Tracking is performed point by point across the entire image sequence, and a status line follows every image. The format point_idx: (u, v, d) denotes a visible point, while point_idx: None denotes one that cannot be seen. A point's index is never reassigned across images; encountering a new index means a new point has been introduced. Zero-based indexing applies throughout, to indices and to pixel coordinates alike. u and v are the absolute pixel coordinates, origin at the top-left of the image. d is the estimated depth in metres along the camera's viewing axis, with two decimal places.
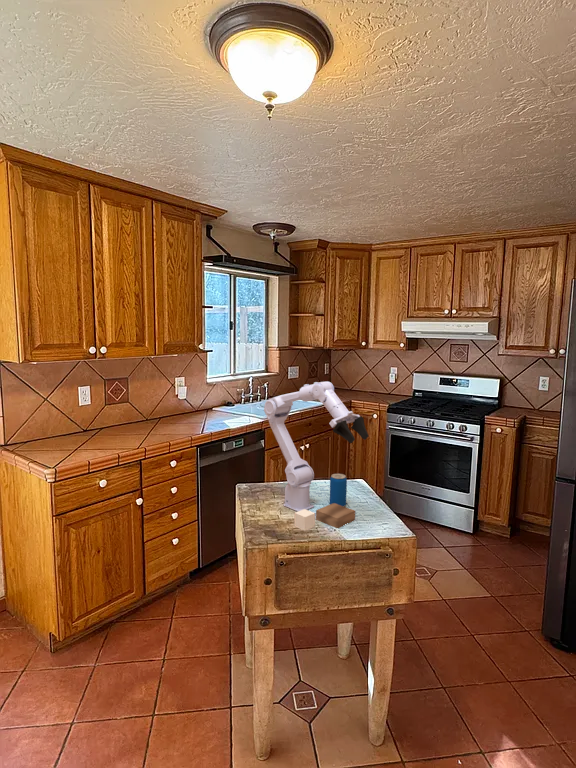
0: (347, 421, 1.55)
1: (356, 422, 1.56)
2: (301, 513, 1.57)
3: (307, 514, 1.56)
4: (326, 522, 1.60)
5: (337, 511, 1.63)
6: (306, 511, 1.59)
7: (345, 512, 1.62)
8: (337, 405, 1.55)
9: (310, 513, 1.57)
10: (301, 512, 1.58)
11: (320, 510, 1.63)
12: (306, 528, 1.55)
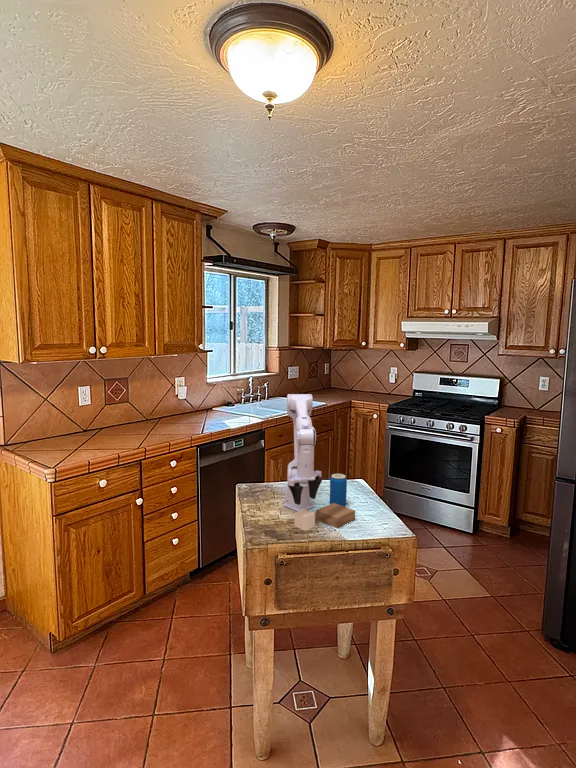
0: None
1: (313, 481, 1.58)
2: (301, 513, 1.57)
3: (307, 514, 1.56)
4: (326, 522, 1.60)
5: (337, 511, 1.63)
6: (306, 511, 1.59)
7: (345, 512, 1.62)
8: (306, 465, 1.53)
9: (310, 513, 1.57)
10: (301, 512, 1.58)
11: (320, 510, 1.63)
12: (306, 528, 1.55)
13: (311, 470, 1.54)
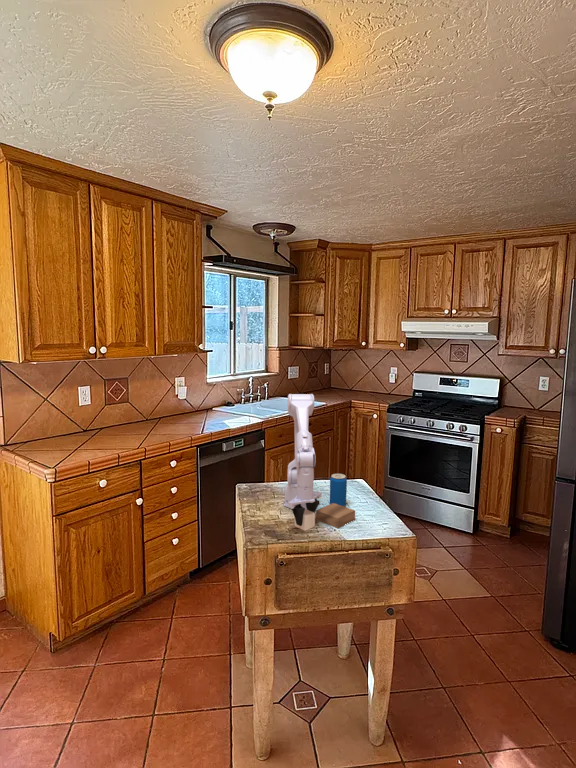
0: None
1: (311, 503, 1.59)
2: None
3: (307, 514, 1.56)
4: (326, 522, 1.60)
5: (337, 511, 1.63)
6: (306, 511, 1.59)
7: (345, 511, 1.62)
8: (306, 488, 1.54)
9: (310, 513, 1.57)
10: None
11: (320, 510, 1.63)
12: (306, 528, 1.55)
13: (311, 492, 1.55)
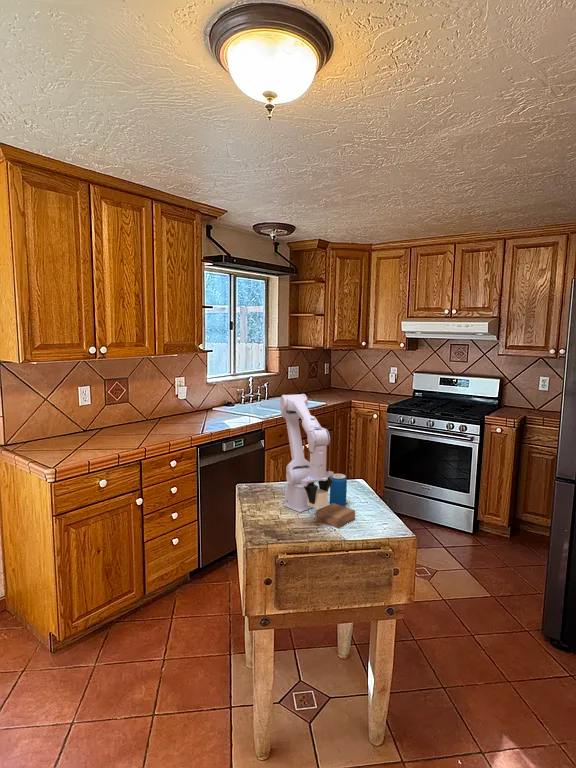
0: None
1: (324, 482, 1.60)
2: None
3: (320, 492, 1.58)
4: (327, 522, 1.60)
5: (337, 511, 1.63)
6: (319, 490, 1.60)
7: (345, 511, 1.62)
8: (319, 466, 1.55)
9: (323, 492, 1.58)
10: None
11: (320, 510, 1.63)
12: (319, 506, 1.56)
13: (324, 471, 1.56)
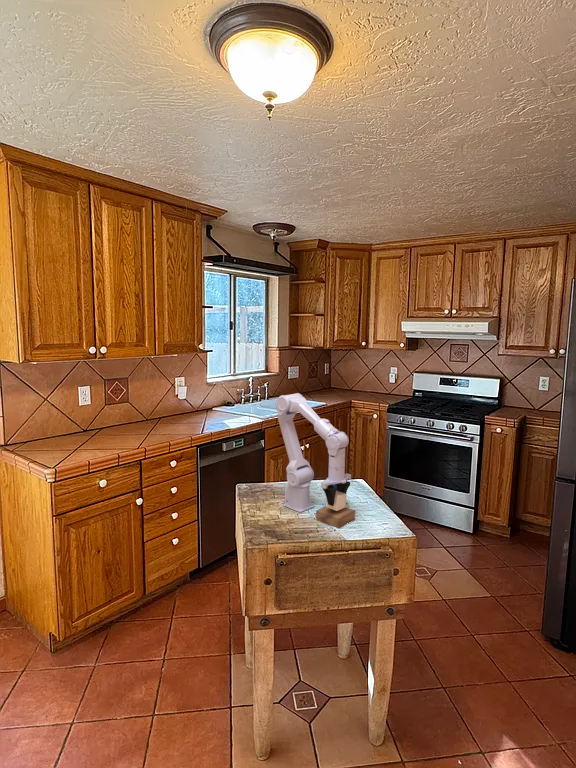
0: None
1: (342, 484, 1.64)
2: None
3: (339, 495, 1.61)
4: (327, 522, 1.60)
5: (337, 511, 1.63)
6: (337, 492, 1.64)
7: (345, 511, 1.62)
8: (338, 469, 1.58)
9: (341, 494, 1.62)
10: None
11: (320, 510, 1.63)
12: (338, 508, 1.60)
13: (342, 473, 1.59)
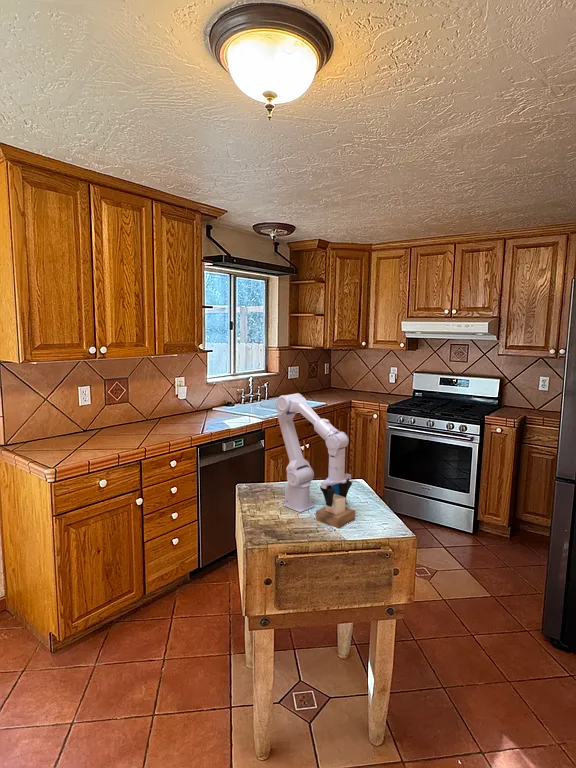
0: None
1: (344, 483, 1.64)
2: None
3: (338, 498, 1.61)
4: (327, 522, 1.60)
5: None
6: (337, 495, 1.64)
7: (345, 511, 1.62)
8: (338, 469, 1.58)
9: (341, 497, 1.62)
10: None
11: (320, 511, 1.63)
12: (337, 512, 1.60)
13: (342, 473, 1.59)
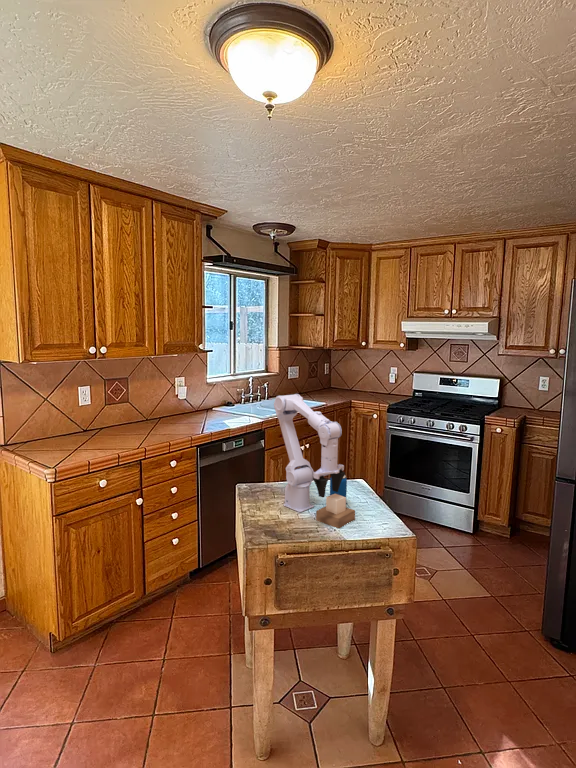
0: None
1: (336, 474, 1.62)
2: (332, 497, 1.62)
3: (338, 498, 1.62)
4: (327, 522, 1.60)
5: None
6: (337, 495, 1.64)
7: (345, 512, 1.62)
8: (331, 459, 1.56)
9: (341, 497, 1.62)
10: (332, 496, 1.63)
11: (320, 511, 1.63)
12: (338, 511, 1.60)
13: (335, 463, 1.58)
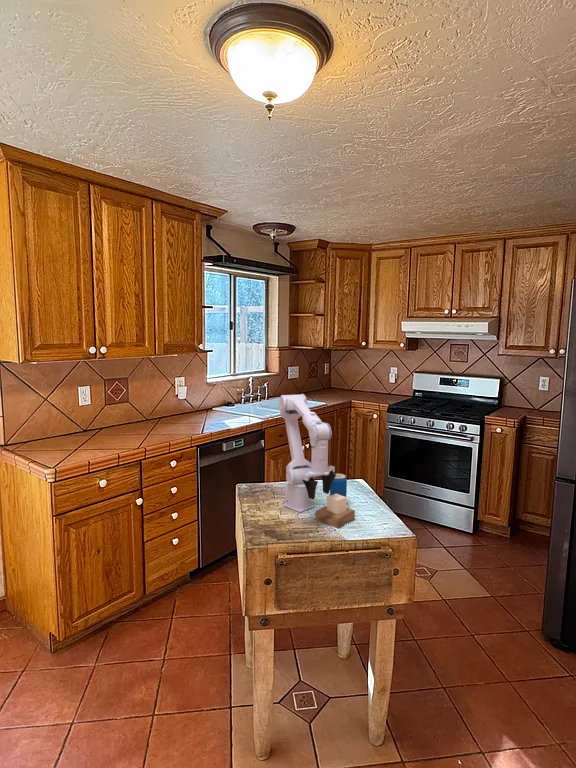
0: None
1: (327, 476, 1.60)
2: (333, 497, 1.62)
3: (339, 498, 1.61)
4: (326, 522, 1.60)
5: None
6: (338, 495, 1.64)
7: (344, 512, 1.62)
8: (321, 460, 1.55)
9: (342, 497, 1.62)
10: (333, 496, 1.63)
11: (320, 511, 1.63)
12: (338, 511, 1.60)
13: (325, 465, 1.56)
